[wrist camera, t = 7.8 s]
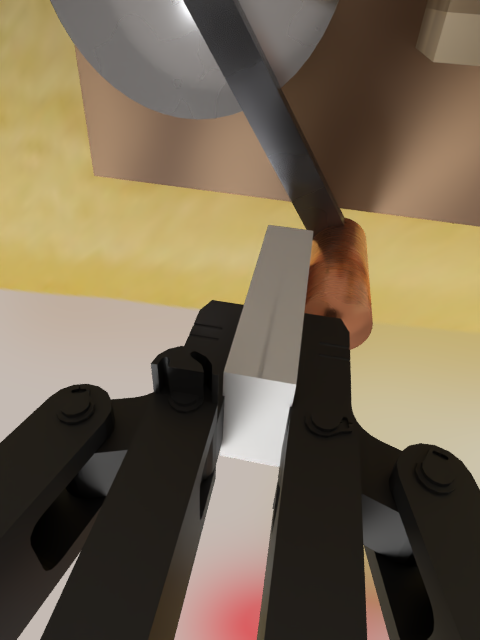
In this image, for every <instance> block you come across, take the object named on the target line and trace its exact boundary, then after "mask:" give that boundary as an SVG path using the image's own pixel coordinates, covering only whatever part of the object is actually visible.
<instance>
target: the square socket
mask: <svg viewBox="0 0 480 640" xmlns="http://www.w3.org/2000/svg"><path fill="white" fill-rule="evenodd" d="M415 48H416V49H418V50H419V51H420V52H421V53H423V54H424V55H425V56H426V57H427V58H429V59H430V60H431V61H432V62H438V63H450V64H461V65H472V66H480V0H428V1H427V5H426V9H425V13H424V17H423V20H422V24H421V28H420V32H419V36H418V40H417V44H416V47H415Z"/></svg>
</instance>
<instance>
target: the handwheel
mask: <svg viewBox="0 0 480 640" xmlns="http://www.w3.org/2000/svg"><path fill="white" fill-rule="evenodd" d="M50 1H51V3H52V5H53V7H54V9H55V11H56V14H57V16H58V18H59V20H60V22H61V23H62V25H63V27H64V28H65V30H66V31H67V33H68V35H69V36H70V38H71V40H72V41H73V43H74V44H75V45H76V47H77V48H78V49H79V51H80V52H81V53H82V55H83V56H84V58H85V59H86V60H87V61H88V62H89V63H90V64H91V65H92V67H93V68H94V69H95V70H96V71H97V72H98V73H99V74H100V75H101V76H102V77H103V78H104V79H105V80H106V81H108V82H109V83H110V84H111V85H112V86H113V87H114V88H116V89H117V90H119V91H120V92H121V93H123V94H124V95H126V96H127V97H128V98H130V99H132V100H133V101H135V102H137V103H139V104H141V105H143V106H145V107H146V108H149V109H151V110H154V111H157V112H159V113H162V114H165V115H170V116H174V117H178V118H186V119H197V120H198V119H215V118H219V117H224V116H229V115H233V114H236V113H238V112H241V111H243V113H244V114H245V116H246V118H247V120H248V122H249V124H250V126H251V127H252V129H253V131H254V133H255V135H256V137H257V139H258V140H259V142H260V144H261V146H262V148H263V150H264V152H265V153H266V155H267V157H268V159H269V161H270V163H271V164H272V166H273V168H274V170H275V172H276V174H277V176H278V177H279V179H280V181H281V183H282V185H283V187H284V189H285V190H286V192H287V194H288V196H289V198H290V200H291V202H292V203H293V205H294V207H295V209H296V211H297V213H298V214H299V216H300V218H301V220H302V222H303V224H304V226H305V227H306V229H307V230H311V231H313V240H312V248H311V257H310V266H309V275H308V284H307V293H306V302H305V311H304V313H307V314H314V315H321V316H327V317H334V318H340V319H342V321H343V322H344V324H345V326H346V327H347V329H348V331H349V332H350V349H349V350H351V349H353V348H356V347H358V346H359V345H361V344H362V343H363V342H364V341H365V340H366V339H367V338H368V337H369V335H370V333H371V330H372V325H373V323H372V309H371V296H370V283H369V270H368V257H367V244H366V236H365V233H364V231H363V229H362V228H361V226H360V225H359V224H357V223H356V222H354V221H353V220H350V219H347V218H344V216H343V214H342V212H341V210H340V208H339V206H338V204H337V202H336V199H335V197H334V195H333V193H332V191H331V189H330V187H329V185H328V183H327V181H326V179H325V177H324V175H323V173H322V171H321V169H320V167H319V165H318V163H317V160H316V158H315V156H314V154H313V152H312V150H311V148H310V146H309V144H308V142H307V140H306V138H305V136H304V134H303V132H302V130H301V128H300V126H299V124H298V122H297V119H296V117H295V115H294V113H293V111H292V109H291V107H290V105H289V103H288V101H287V99H286V97H285V95H284V93H283V91H282V89H281V87H283V86H284V85H285V84H286V83H287V82H288V81H289V80H290V79H291V78H292V77H293V76H294V75H295V74H296V73H297V72H298V70H299V69H300V68H301V67H302V66H303V64H304V63H305V62H306V61H307V59H308V58H309V57H310V55H311V54H312V52H313V51H314V49H315V48H316V46H317V44H318V43H319V41H320V40H321V38H322V36H323V35H324V33H325V31H326V29H327V27H328V25H329V23H330V21H331V19H332V16H333V14H334V12H335V10H336V7H337V4H338V2H339V0H50Z"/></svg>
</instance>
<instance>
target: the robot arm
mask: <svg viewBox="0 0 480 640" xmlns="http://www.w3.org/2000/svg"><path fill="white" fill-rule="evenodd" d="M312 240H313V231H311V230H303V229H296V228H288V227H281V226H273V225H268V228H267V231H266V234H265V238H264V241H263V244H262V248H261V251H260V254H259V257H258V261H257V264H256V267H255V271H254V274H253V277H252V280H251V284H250V287H249V290H248V294H247V297H246V300H245V303H244V305H241V304H234V303H228V302H221V301H215V300H212V301H211V302H209V303H208V304H207V305H206V306H204V307H203V308H202V309H201V310H200V311H199V314H198V316H197V318H196V320H195V323H194V326H193V327H192V329H191V332H190V335H189V337H188V339H187V341H186V343H185V346H180V347H176V348H171V349H168V350H166V351H164V352H163V353H161V354H159V355H158V356H157V357H156V358H155V359H154V360H153V362H152V363H151V368H152V378H153V387H154V392H153V393H150V394H148V395H145V396H141V397H135V398H124V399H112V400H111V399H110V397H109V395H108V393H107V392H106V391H104V390H103V389H102V388H100V387H98V386H94V385H90V384H80V385H73V386H69V387H67V388H64V389H61V390H59V391H58V392H57V393H55V394H54V395H52V396H51V397H49V399H47V400H46V401H45V402H44V403H43V404H42V405H41V406H40V407H39V408H37V410H35V411H34V412H33V413H32V414H31V415H30V416H29V417H28V418H27V419H26V420H25V421H24V422H22V423H21V424H20V425H19V426H18V427H17V428H16V429H15V430H14V431H13V432H12V433H11V434H9V435H8V436H7V437H6V438H5V439H4V440H3V441H2V442H1V443H0V640H17V638H18V637H19V636H20V634H21V633H22V632H23V630H24V628H25V627H26V626H27V625H28V623H29V622H30V620H31V619H32V618H33V616H34V615H35V614H36V612H37V611H38V609H39V608H40V607H41V605H42V604H43V602H44V601H45V600H46V598H47V597H48V596H49V594H50V593H51V592H52V590H53V589H54V587H55V586H56V585H57V583H58V582H59V581H60V579H61V578H62V576H63V575H64V574H65V572H66V571H67V569H68V568H69V567H70V565H71V564H72V563H73V561H74V560H75V558H76V557H77V556H78V554H79V553H80V555H79V557H78V559H77V561H76V563H75V565H74V568H73V570H72V572H71V574H70V576H69V578H68V581H67V583H66V585H65V587H64V589H63V592H62V594H61V596H60V598H59V600H58V603H57V604H56V607H55V609H54V611H53V613H52V615H51V617H50V620H49V622H48V624H47V626H46V628H45V631H44V633H43V635H42V637H41V639H40V640H174V637H175V633H176V629H177V626H178V622H179V618H180V614H181V610H182V606H183V602H184V598H185V595H186V590H187V586H188V583H189V579H190V575H191V571H192V567H193V563H194V560H195V556H196V552H197V548H198V544H199V540H200V536H201V532H202V529H203V525H204V521H205V517H206V513H207V509H208V505H209V501H210V497H211V493H212V490H213V486H214V482H215V473H216V462H217V459H218V455H219V451H220V455H221V456H225V457H230V458H236V459H241V460H246V461H250V462H255V463H261V464H266V465H271V466H276V467H279V475H278V483H277V488H276V493H275V498H274V503H273V509H274V511H273V518H272V526H271V534H270V541H269V549H268V557H267V565H266V572H265V580H264V588H263V596H262V604H261V611H260V620H259V627H258V635H257V640H367V623H366V598H365V573H364V550H363V549H364V548H365V551H366V555H367V559H368V562H369V566H370V569H371V573H372V577H373V580H374V584H375V588H376V592H377V595H378V599H379V602H380V606H381V610H382V614H383V617H384V621H385V624H386V628H387V632H388V635H389V639H390V640H480V490H479V488H478V486H477V484H476V482H475V480H474V478H473V476H472V474H471V473H470V472H469V470H468V469H467V468H466V467H465V465H464V464H463V462H462V461H461V460H459V459H458V458H457V457H455V456H454V455H453V454H452V453H450V452H449V451H447V450H444V449H442V448H440V447H437V446H435V445H429V444H422V443H420V444H416V445H411V446H408V447H407V448H406V449H404V450H403V451H401V450H399V449H397V448H395V447H392V446H390V445H388V444H386V443H384V442H382V441H380V440H378V439H376V438H374V437H373V436H371V435H370V434H369V433H367V432H366V431H365V430H364V429H363V428H362V427H361V426H360V425H359V423H358V422H357V421H356V419H355V417H354V415H353V412H352V407H351V373H350V350H349V349H350V332H349V331H348V329H347V327H346V326H345V324H344V322H343V321H342V319H340V318H334V317H327V316H321V315H314V314H307V313H304V311H305V302H306V293H307V284H308V275H309V266H310V257H311V248H312ZM363 545H364V548H363Z"/></svg>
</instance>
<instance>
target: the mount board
mask: <svg viewBox="0 0 480 640" xmlns="http://www.w3.org/2000/svg"><path fill="white" fill-rule="evenodd" d="M427 1H428V0H339V2H338V4H337V7H336V10H335V12H334V14H333V16H332V19H331V21H330V23H329V25H328V27H327V29H326V31H325V33H324V35H323V36H322V38H321V40H320V41H319V43H318V44H317V46H316V48H315V49H314V51H313V52H312V54H311V55H310V57H309V58H308V59H307V61H306V62H305V63H304V64H303V66H302V67H301V68H300V69H299V70H298V72H297V73H296V74H295V75H294V76H293V77H292V78H291V79H290V80H289V81H288V82H287V83H286V84H285V85H284V86H283V87H281V89H282V91H283V93H284V95H285V97H286V99H287V101H288V103H289V105H290V107H291V109H292V111H293V113H294V115H295V117H296V119H297V122H298V124H299V126H300V128H301V130H302V132H303V134H304V136H305V138H306V140H307V142H308V144H309V146H310V148H311V150H312V152H313V154H314V156H315V158H316V160H317V163H318V165H319V167H320V169H321V171H322V173H323V175H324V177H325V179H326V181H327V183H328V185H329V187H330V189H331V191H332V193H333V195H334V197H335V199H336V202H337V204H338V206H339V208H343V209H351V210H358V211H366V212H374V213H381V214H389V215H396V216H404V217H411V218H419V219H427V220H434V221H442V222H449V223H457V224H465V225H472V226H480V66H472V65H461V64H450V63H438V62H432V61H431V60H430V59H429V58H427V57H426V56H425V55H424V54H423V53H421V52H420V51H419V50H418V49H416V48H415V47H416V44H417V40H418V36H419V32H420V28H421V24H422V20H423V17H424V13H425V9H426V5H427ZM75 51H76V57H77V64H78V71H79V77H80V84H81V91H82V98H83V104H84V111H85V118H86V124H87V131H88V138H89V144H90V151H91V158H92V165H93V171H94V176H101V177H108V178H116V179H123V180H131V181H138V182H146V183H154V184H161V185H169V186H176V187H184V188H192V189H199V190H207V191H214V192H222V193H229V194H237V195H245V196H252V197H260V198H267V199H275V200H283V201H290V202H291V200H290V198H289V196H288V194H287V192H286V190H285V189H284V187H283V185H282V183H281V181H280V179H279V177H278V176H277V174H276V172H275V170H274V168H273V166H272V164H271V163H270V161H269V159H268V157H267V155H266V153H265V152H264V150H263V148H262V146H261V144H260V142H259V140H258V139H257V137H256V135H255V133H254V131H253V129H252V127H251V126H250V124H249V122H248V120H247V118H246V116H245V114H244V113H243V111H241V112H238V113H236V114H233V115H229V116H224V117H219V118H215V119H198V120H197V119H186V118H178V117H174V116H170V115H165V114H162V113H159V112H157V111H154V110H151V109H149V108H146V107H145V106H143V105H141V104H139V103H137V102H135V101H133V100H132V99H130V98H128V97H127V96H126V95H124V94H123V93H121V92H120V91H119V90H117V89H116V88H114V87H113V86H112V85H111V84H110V83H109V82H108V81H106V80H105V79H104V78H103V77H102V76H101V75H100V74H99V73H98V72H97V71H96V70H95V69H94V68H93V67H92V65H91V64H90V63H89V62H88V61H87V60H86V59H85V58H84V56H83V55H82V53H81V52H80V51H79V49H78V48H77V47H76V45H75Z"/></svg>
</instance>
